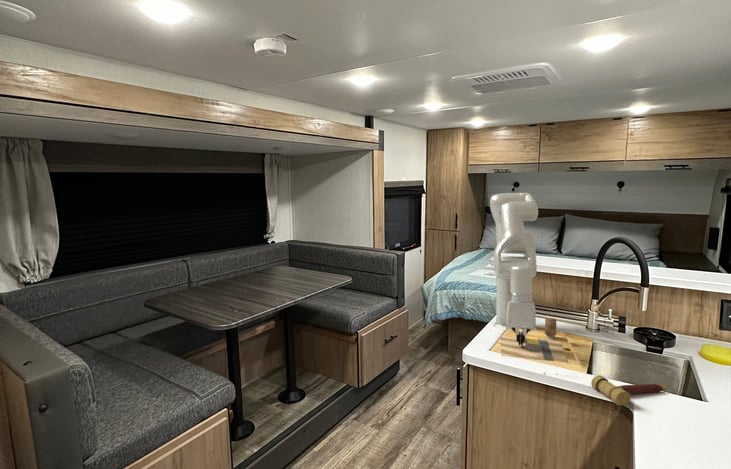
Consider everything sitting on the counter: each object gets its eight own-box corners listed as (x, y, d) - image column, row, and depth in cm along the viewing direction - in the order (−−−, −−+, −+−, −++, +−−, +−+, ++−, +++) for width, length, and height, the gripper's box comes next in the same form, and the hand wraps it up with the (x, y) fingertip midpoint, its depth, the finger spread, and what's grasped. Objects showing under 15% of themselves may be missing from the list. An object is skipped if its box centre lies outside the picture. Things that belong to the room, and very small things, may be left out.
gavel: (652, 373, 121) (682, 389, 111) (650, 386, 122) (680, 404, 112) (591, 375, 118) (616, 392, 108) (590, 389, 119) (615, 407, 109)
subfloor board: (500, 339, 158) (500, 336, 158) (559, 345, 151) (559, 341, 151) (501, 359, 140) (501, 355, 140) (568, 366, 133) (568, 362, 133)
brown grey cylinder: (544, 338, 158) (544, 317, 157) (555, 339, 157) (555, 318, 155) (545, 342, 154) (545, 320, 153) (556, 343, 153) (557, 321, 152)
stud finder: (524, 343, 150) (525, 336, 150) (538, 344, 149) (539, 337, 148) (525, 350, 144) (526, 342, 143) (540, 352, 142) (540, 344, 142)
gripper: (500, 298, 144) (499, 345, 146) (543, 301, 139) (542, 349, 141) (500, 293, 151) (500, 338, 153) (541, 295, 146) (541, 342, 148)
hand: (520, 343), depth 147 cm, fingers closed
